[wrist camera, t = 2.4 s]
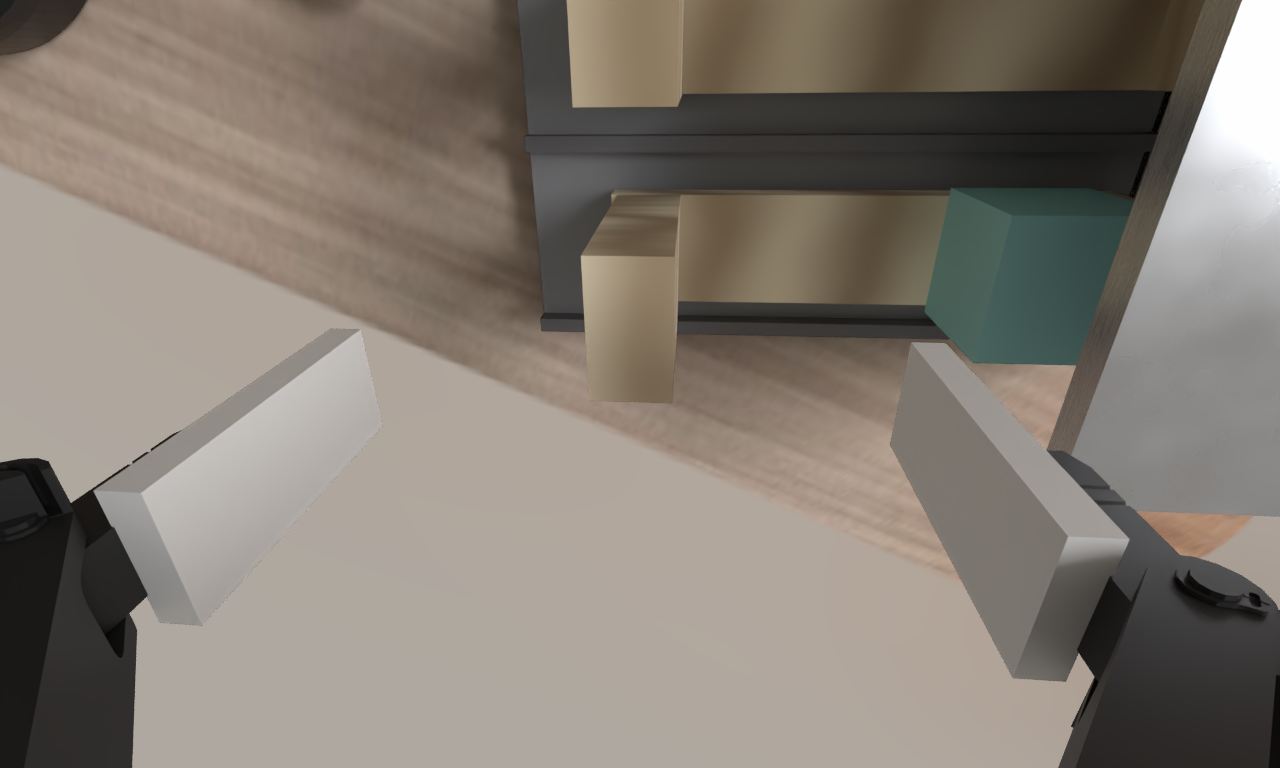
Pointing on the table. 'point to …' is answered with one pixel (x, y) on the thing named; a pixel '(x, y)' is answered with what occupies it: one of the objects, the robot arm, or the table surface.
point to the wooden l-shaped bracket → (741, 265)
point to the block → (1024, 270)
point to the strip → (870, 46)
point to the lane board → (799, 165)
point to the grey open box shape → (1195, 293)
